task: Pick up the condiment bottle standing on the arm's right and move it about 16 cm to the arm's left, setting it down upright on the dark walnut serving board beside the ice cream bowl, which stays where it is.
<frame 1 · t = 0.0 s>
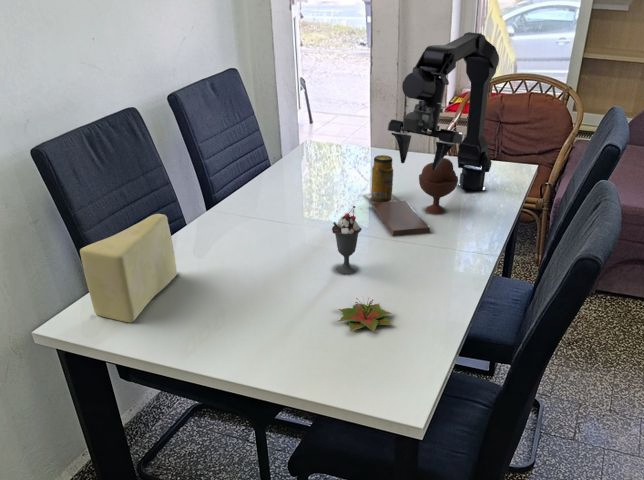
hand: (418, 166, 166), 15 cm above the table, tool pointing down, fingers open, 9 cm apart
sundae: (346, 270, 151), on the table
walnut board: (399, 220, 176), on the table
condiment: (382, 200, 189), on the table
lily flower: (365, 320, 132), on the table
cheese: (145, 296, 139), on the table
ice cream bowl: (435, 211, 183), on the table
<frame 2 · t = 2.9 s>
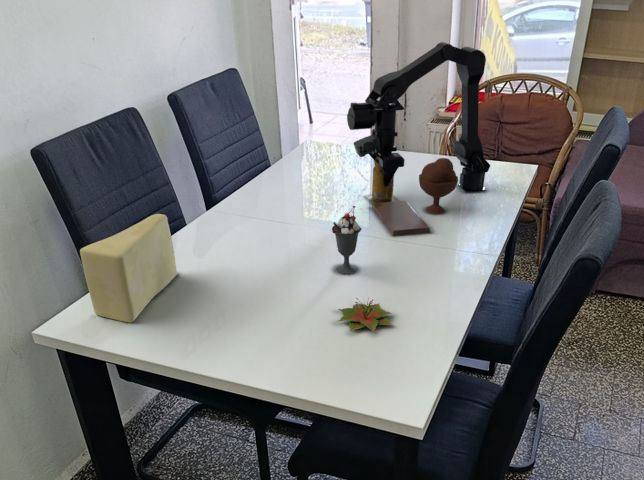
hand: (382, 182, 187), 5 cm above the table, tool pointing down, fingers closed on condiment, 6 cm apart
condiment: (382, 201, 189), on the table, touching gripper
everything else where it was.
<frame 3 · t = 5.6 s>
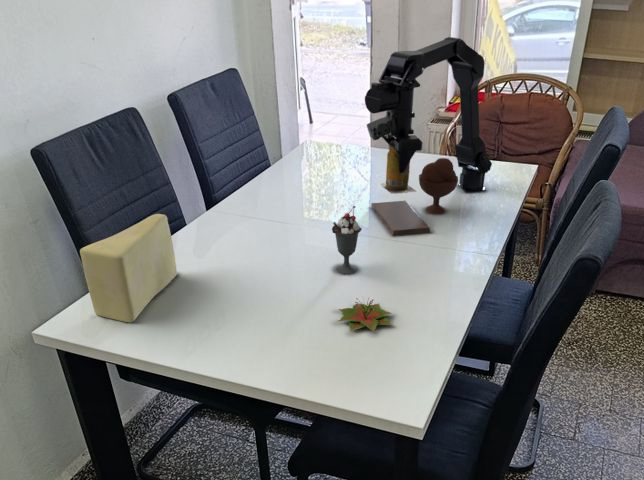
hand: (397, 168, 172), 13 cm above the table, tool pointing down, fingers closed on condiment, 6 cm apart
condiment: (397, 189, 174), point 8 cm above the table, touching gripper
everything else where it was.
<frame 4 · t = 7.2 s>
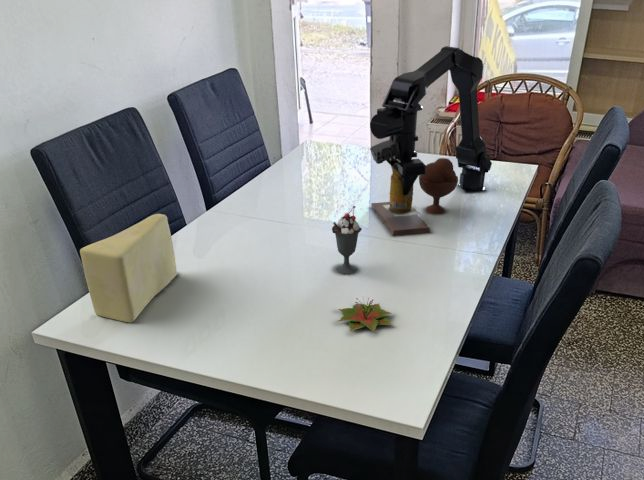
hand: (401, 190, 172), 8 cm above the table, tool pointing down, fingers closed on condiment, 6 cm apart
condiment: (401, 210, 174), point 3 cm above the table, touching gripper
everything else where it was.
when the fingers open (7 cm above the table, at t = 8.3 s): condiment stays where it is, resting on walnut board.
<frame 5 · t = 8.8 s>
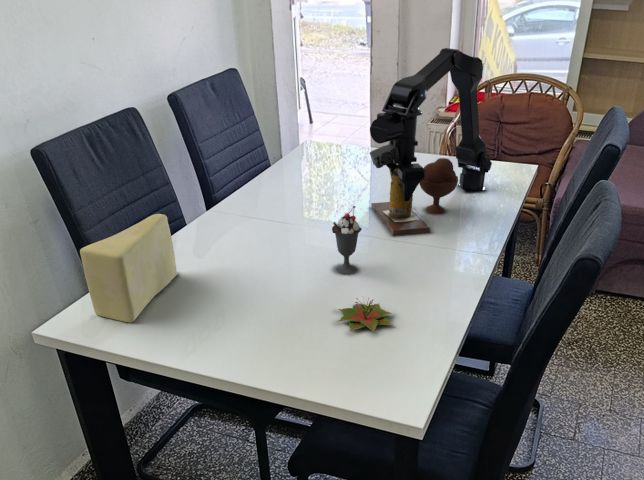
hand: (400, 195, 173), 7 cm above the table, tool pointing down, fingers open, 9 cm apart
condiment: (400, 216, 175), point 1 cm above the table, touching walnut board
everything else where it was.
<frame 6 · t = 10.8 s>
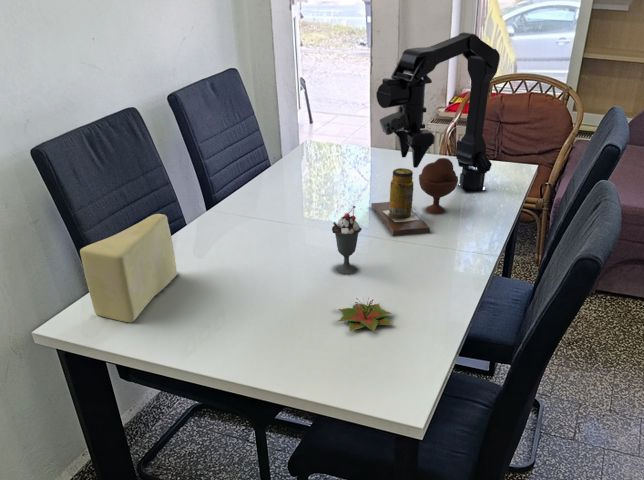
hand: (409, 162, 178), 13 cm above the table, tool pointing down, fingers open, 9 cm apart
nothing on the table moved.
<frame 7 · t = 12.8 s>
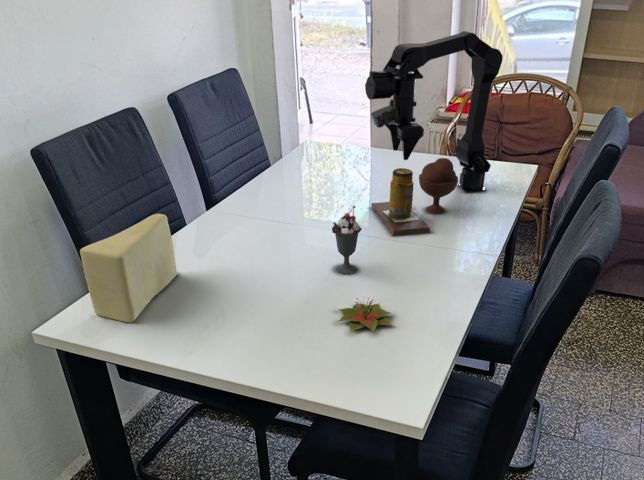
hand: (400, 155, 182), 13 cm above the table, tool pointing down, fingers open, 9 cm apart
nothing on the table moved.
at the end: condiment inside the target area on the walnut board (0.9 cm from its centre), point 1.3 cm above the walnut board's base; condiment tilted 0°; ice cream bowl moved 0.2 cm from its start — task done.
